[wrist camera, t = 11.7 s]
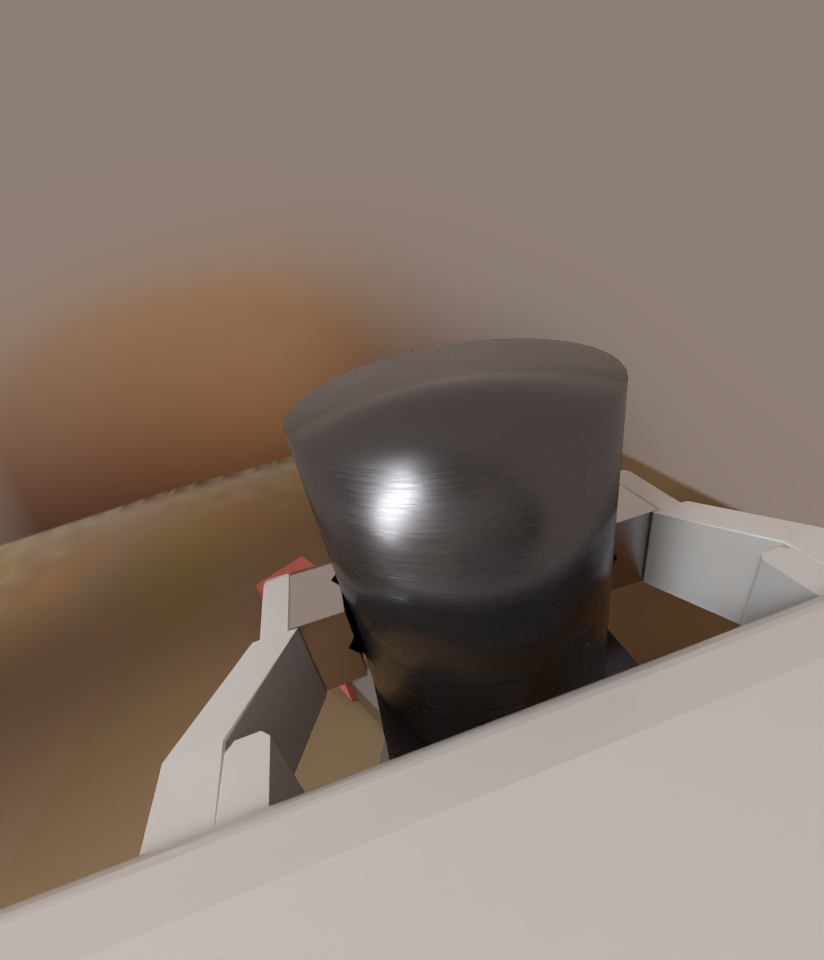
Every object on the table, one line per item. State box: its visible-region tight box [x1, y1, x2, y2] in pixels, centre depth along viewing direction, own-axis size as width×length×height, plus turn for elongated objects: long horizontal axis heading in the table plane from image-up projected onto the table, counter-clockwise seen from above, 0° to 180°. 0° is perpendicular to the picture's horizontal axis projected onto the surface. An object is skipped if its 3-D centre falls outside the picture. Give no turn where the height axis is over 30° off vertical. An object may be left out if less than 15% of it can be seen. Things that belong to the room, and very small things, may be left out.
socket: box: [284, 338, 639, 760], centre depth 9 cm, size 5×5×10 cm
